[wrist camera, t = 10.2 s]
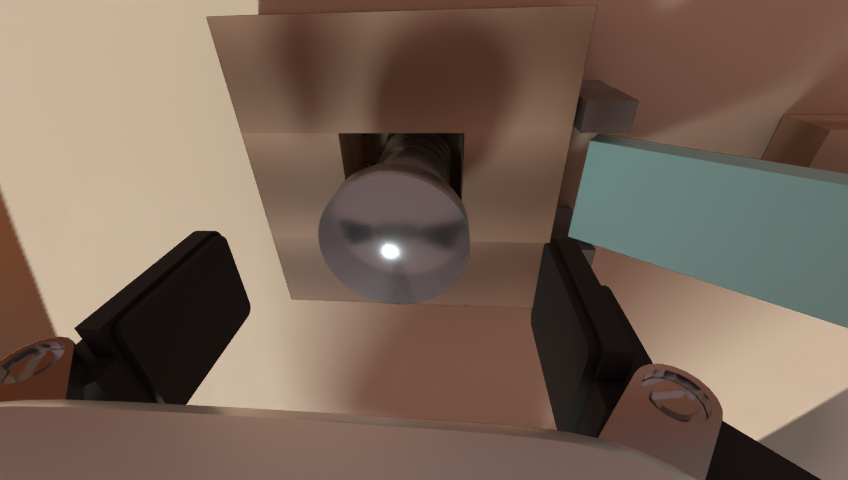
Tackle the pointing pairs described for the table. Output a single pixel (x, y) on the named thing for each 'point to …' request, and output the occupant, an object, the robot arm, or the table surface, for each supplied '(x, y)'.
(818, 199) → the latch lever
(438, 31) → the hitch block
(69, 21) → the table surface
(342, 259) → the pin
